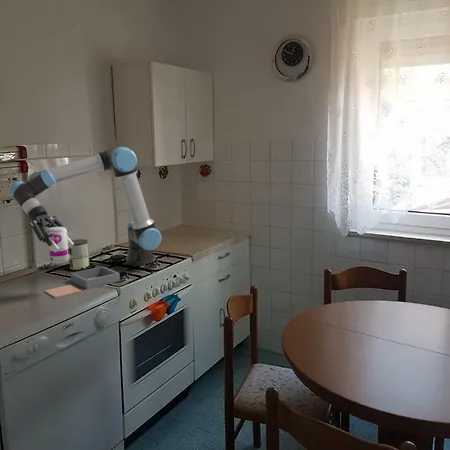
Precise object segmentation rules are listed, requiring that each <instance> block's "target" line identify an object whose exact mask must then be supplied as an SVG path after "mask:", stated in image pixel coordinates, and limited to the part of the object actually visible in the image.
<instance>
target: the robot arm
mask: <svg viewBox="0 0 450 450" xmlns="http://www.w3.org/2000/svg"><path fill="white" fill-rule="evenodd" d="M137 163H138V159H137V155H136V154H135V152H134V150H132V149H130V148H128V147H127V146H113V147H110V148H108V149H105V150H103V151H100V152H97V153H96V154H95V155H93V156H90V157H86V158H83V159H80V160H76V161H72V162H68V163H66V164H61V165H58V166H55V167H51V168H48V169H45V170H41V171H34V172H31V174H30V175H29V177H28V181H26V182H24V181H22V180H17V181H15V182H13V183H12V184H11V185H10V186H9V189H8V190H9V193H10V195H11V196H12V197H13V199H14V200H15V201H16V203H17V204H18V205H19V206H20V207H21V208H22V210H23V211H24V213H25V214H26V215H27V216H28V218H29V219H30V223H29V226H30V227H31V228H32V230H33V231H34V233H35V236H36V238H37V239H38V240H39V242H42V243H46V244H47V246H48V247H49V246H50V247H51V248H52V250H53V251H54V252H55V253H56V252H57V251H58V249H59V248H58V246H57V245H56V244H55V242H54V241H53V240H52V239H51V237H49V238H48V230H47V228H48V229H49V228H52V227H65V228H66V230H67V233H68V232H69V229H68V228H67V227H66V226H65V225H64V224H63V223H62V222H61V221H59V219H58V218H57V216H56V215H53V216H52V217H51V216H49V215H48V213H47V209H45V207H44V206H43V205H42V204H41V202H40V201H39V200H38V199H37V196H38V195H40V194H41V193H43V192H45V191H47V190H48V189H50V188H52V186H54V185H55V184H57V183H61V182H64V181H68V180H71V179H74V178H78V177H81V176H85V175H89V174H91V173H92V174H93V173H95V172H99V171H101V172H105V171H109V170H111V171H113V174H114V178H116V179H117V180H119V182H120V185H121V189H122V191H123V195H124V197H125V201H126V205H127V208H128V209H129V212H130V216H131V218H132V221H130V222H128V223H127V239H128V242H127V243H128V252H127V256H126V259H125V260H126V261H125V262H126V265H129V266H133V267H134V266H135V267H136V266H137V267H138V266H147V265H146V264H148V265H150V264H149V263H151V264H153V263H154V262H155V256H154V253H153V250H155V249H157V248H158V247H159V246H160V244H161V242H162V235H161V232H160V230H158V229H157V226H156V224H155V220H154V219H152V218H151V217H150V214H149V210H148V208H147V205H146V202H145V198H144V196H143V192H142V190H141V185H140V183H139V179H138V175H137V173H138V171H139V169H138V167H137ZM71 240H72V239H71V237H70V236H69V235H68V246H69V248H71V247H72V246H73V245H74V243H73V242H72V241H71ZM152 262H153V263H152Z"/></svg>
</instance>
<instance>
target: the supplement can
mask: <svg viewBox="0 0 450 450" xmlns="http://www.w3.org/2000/svg"><path fill="white" fill-rule="evenodd" d="M65 227H66V226H65ZM65 227H52V228H49V227H48V230H47V234H48V238H49V237H51V239H52V240H53V241H54V242H55V244H56V245H57V246H58V248H59V249H58V251H57V252H56V253H55V252H54V251H53V250H52V248H51V247H50V246H48V250H49V251H48V252H49V260H50V262H51V263H53V264H62V263H67V262H68V261H69V247H68V236H69V234H68V232H67V230H66V228H67V227H66V228H65Z"/></svg>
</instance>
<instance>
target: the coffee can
mask: <svg viewBox="0 0 450 450" xmlns="http://www.w3.org/2000/svg"><path fill="white" fill-rule="evenodd" d="M70 240H71V241H72V242H73V243H74V245H73V246H72V247H71V248H69V260H68V261H69V269H71V270H82V269H81V268H84V269H87V268H86V267H88V266H89V265H90V257H89V244H88V242H89V241H88V239H81V238H80V239H73V240H72V239H70ZM68 247H69V246H68ZM89 267H90V266H89ZM89 267H88V268H89Z"/></svg>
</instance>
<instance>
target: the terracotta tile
mask: <svg viewBox="0 0 450 450" xmlns="http://www.w3.org/2000/svg"><path fill="white" fill-rule="evenodd" d="M81 292H82V290H81V289H79V288H78V287H75V286H74V285H71V284H67V285H63V286H58V287H54V288H49V289H46V290H44V293H46V294H48V295H49V296H51V297H53V298H55V299H57V298H61V297H62V298H63V297H65V296H70V295H73V294H78V293H81Z"/></svg>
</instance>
